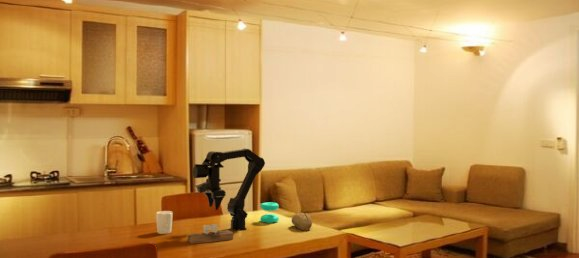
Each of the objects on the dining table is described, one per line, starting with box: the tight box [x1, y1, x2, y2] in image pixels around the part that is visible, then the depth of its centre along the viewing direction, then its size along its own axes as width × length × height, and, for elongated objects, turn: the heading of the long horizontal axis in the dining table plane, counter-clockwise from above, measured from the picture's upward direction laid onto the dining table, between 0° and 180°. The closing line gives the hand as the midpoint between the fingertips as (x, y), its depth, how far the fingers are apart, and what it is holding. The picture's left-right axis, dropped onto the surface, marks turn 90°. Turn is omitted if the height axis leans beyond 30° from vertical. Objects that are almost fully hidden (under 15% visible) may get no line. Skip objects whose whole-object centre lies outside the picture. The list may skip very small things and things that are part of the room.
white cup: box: [155, 210, 174, 235], centre depth 251 cm, size 8×8×10 cm
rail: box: [187, 230, 234, 245], centre depth 236 cm, size 6×20×3 cm, turn 117°
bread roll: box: [291, 212, 313, 232], centre depth 263 cm, size 10×15×8 cm, turn 22°
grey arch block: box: [203, 223, 219, 235], centre depth 236 cm, size 2×6×6 cm, turn 117°
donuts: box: [260, 201, 280, 224], centre depth 278 cm, size 10×10×10 cm
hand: (213, 208), depth 251 cm, fingers open, 9 cm apart
